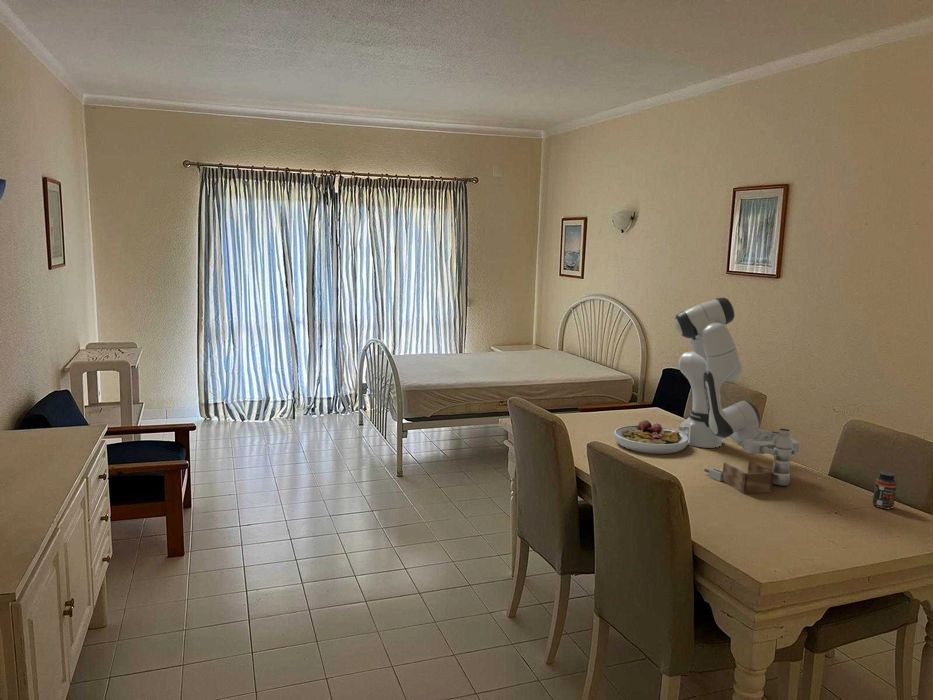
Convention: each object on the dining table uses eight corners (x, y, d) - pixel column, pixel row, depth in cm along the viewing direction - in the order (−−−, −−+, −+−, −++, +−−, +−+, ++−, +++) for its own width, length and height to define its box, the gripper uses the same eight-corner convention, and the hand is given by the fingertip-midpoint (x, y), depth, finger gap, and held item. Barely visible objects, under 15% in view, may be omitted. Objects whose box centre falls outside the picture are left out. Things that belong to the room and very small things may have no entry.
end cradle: (722, 480, 250) (723, 462, 249) (749, 479, 252) (751, 461, 251) (743, 493, 238) (745, 474, 236) (772, 492, 240) (774, 473, 239)
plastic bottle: (768, 485, 246) (773, 430, 243) (770, 480, 252) (775, 426, 249) (788, 489, 243) (794, 433, 240) (790, 483, 249) (795, 429, 246)
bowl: (696, 457, 278) (698, 438, 277) (621, 455, 279) (622, 436, 277) (675, 436, 308) (677, 419, 307) (607, 435, 308) (608, 417, 307)
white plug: (701, 474, 256) (702, 467, 256) (707, 473, 258) (708, 465, 257) (726, 483, 247) (727, 475, 247) (732, 482, 249) (733, 474, 248)
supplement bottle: (882, 510, 225) (886, 476, 223) (868, 503, 231) (872, 470, 229) (898, 509, 226) (902, 475, 225) (883, 502, 232) (887, 470, 230)
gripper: (735, 434, 256) (758, 445, 242) (785, 432, 260) (810, 442, 246) (734, 450, 257) (757, 462, 243) (783, 448, 261) (808, 459, 247)
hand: (784, 452), depth 245 cm, fingers closed on plastic bottle, 6 cm apart
